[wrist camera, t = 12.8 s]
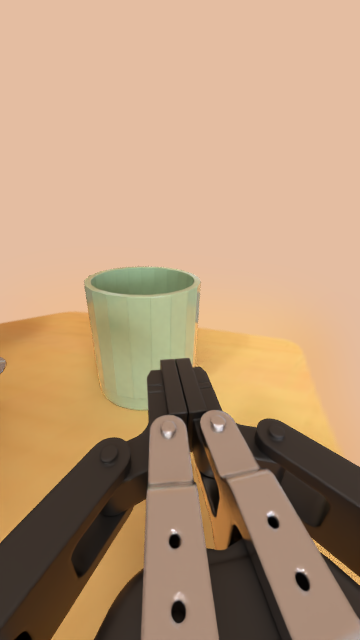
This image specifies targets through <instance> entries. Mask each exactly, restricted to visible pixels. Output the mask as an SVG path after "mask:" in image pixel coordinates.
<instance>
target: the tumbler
mask: <svg viewBox="0 0 360 640" xmlns="http://www.w3.org/2000/svg"><path fill="white" fill-rule="evenodd" d="M200 284H201V281H200V279H199V278H198V277H197V276H195V275H194V274H192V273H189V272H185V271H182V270H177V269H172V268H164V267H163V268H162V267H125V268H116V269H110V270H106V271H101V272H98V273H95V274H93V275H90V276H89V277H88V278H86V279H85V280H84V285H85V292H86V299H87V305H88V312H89V319H90V325H91V332H92V339H93V345H94V352H95V359H96V365H97V372H98V379H99V384H100V389H101V391H102V393H103V394H104V396H105V397H106V398H107V399H108V400H109V401H111V402H112V403H114V404H116V405H118V406H121V407H124V408H127V409H133V410H148V396H147V376H148V374H149V373H150V371H151V370H160V360H163V359H179V358H190V361H191V364H192V367H195V357H196V343H197V328H198V314H199V299H200Z"/></svg>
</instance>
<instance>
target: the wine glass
mask: <svg viewBox="0 0 360 640" xmlns="http://www.w3.org/2000/svg"><path fill="white" fill-rule="evenodd" d="M5 367H6V361H5V360H4V359H3V358H1V357H0V373H1V372H2V371H3V370H4V369H5Z"/></svg>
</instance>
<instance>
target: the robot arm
mask: <svg viewBox="0 0 360 640" xmlns="http://www.w3.org/2000/svg"><path fill="white" fill-rule="evenodd" d="M147 396H148V417H149V423H148V426H147V428H146V429H145V430H144V432H143V433H141V434H140V435H139V436H137V437H135V438H133V439H131V440H129V441H124V440H123V439H120V438H115V437H114V438H107V439H105V440H102V441H100V442H99V443H98V444H96V445H95V446H94V447H93V448H92V449H91V450H90V451H89V452H88V453H87V454H86V455H85V456H84V457H83V459H82V460H81V461H80V462H79V463H78V464H77V465H76V466H75V467H74V468H73V469H72V470H71V471H70V472H69V473H68V474H67V475H66V476H65V477H64V478H63V479H62V480H61V481H60V482H59V483H58V484H57V485H56V486H55V487H54V488H53V489H52V490H51V491H50V492H49V493H48V494H47V495H46V497H45V498H44V499H43V500H42V501H41V502H40V503H39V504H38V505H37V506H36V507H35V508H34V509H33V510H32V511H31V512H30V513H29V514H28V515H27V516H26V517H25V518H24V519H23V520H22V521H21V522H20V523H19V524H18V525H17V526H16V527H15V528H14V529H13V530H12V531H11V532H10V534H9V535H8V536H7V537H6V538H5V539H4V540H3V541H2V542H1V543H0V640H51V638H52V637H53V635H54V634H55V632H56V630H57V629H58V627H59V626H60V624H61V623H62V621H63V619H64V618H65V616H66V615H67V613H68V612H69V610H70V608H71V607H72V605H73V604H74V602H75V600H76V599H77V597H78V596H79V594H80V593H81V591H82V589H83V588H84V586H85V585H86V583H87V581H88V580H89V578H90V577H91V575H92V574H93V572H94V570H95V569H96V567H97V566H98V564H99V562H100V561H101V559H102V558H103V556H104V555H105V553H106V551H107V550H108V548H109V547H110V545H111V544H112V542H113V540H114V539H115V537H116V536H117V534H118V532H119V531H120V529H121V528H122V526H123V525H124V523H125V521H126V520H127V518H128V517H129V515H130V513H131V512H132V510H133V507H134V505H136V504H138V503H140V502H141V501H143V500H145V499H146V521H145V547H144V568H143V569H142V570H141V571H139V572H138V573H137V574H136V575H134V577H133V578H132V579H131V580H130V581H129V582H128V583H127V584H126V585H125V586H124V588H123V589H122V590H121V591H120V593H119V594H118V596H117V597H116V599H115V600H114V602H113V604H112V605H111V607H110V609H109V611H108V613H107V615H106V617H105V619H104V621H103V623H102V625H101V626H100V628H99V630H98V632H97V634H96V636H95V638H94V640H360V585H358V584H357V583H356V582H355V581H354V580H353V579H352V578H350V577H349V576H348V575H347V574H346V573H345V572H344V571H342V570H341V569H340V568H339V567H338V566H337V565H336V564H334V563H333V562H332V561H331V560H330V559H328V558H327V557H326V556H325V555H323V554H322V553H320V552H319V550H318V549H317V547H316V545H315V544H314V542H313V540H312V539H311V538H313V539H314V540H315V541H316V542H317V543H319V544H320V545H321V546H322V547H324V548H325V549H326V550H327V551H328V552H330V553H331V554H332V555H333V556H335V557H336V558H337V559H338V560H340V561H341V562H342V563H343V564H344V565H346V566H347V567H348V568H349V569H351V570H352V571H353V572H354V573H355V574H357V575H358V576H359V577H360V467H359V466H357V465H355V464H353V463H352V462H350V461H348V460H347V459H345V458H343V457H341V456H340V455H338V454H336V453H334V452H333V451H331V450H329V449H328V448H326V447H324V446H322V445H321V444H319V443H317V442H315V441H314V440H312V439H310V438H309V437H307V436H305V435H303V434H302V433H300V432H298V431H296V430H295V429H293V428H291V427H289V426H288V425H286V424H284V423H283V422H281V421H278V420H275V419H264V420H262V421H260V422H259V423H258V425H257V428H256V427H250V426H244V425H240V424H237V423H235V421H234V420H233V418H232V417H231V416H230V415H229V414H227V413H225V412H223V411H222V409H221V406H220V404H219V402H218V399H217V397H216V394H215V392H214V390H213V388H212V385H211V382H210V380H209V378H208V375H207V373H206V372H205V371H204V370H203V369H202V368H201V367H192V364H191V361H190V358H179V359H163V360H160V370H151V371H150V373H149V374H148V376H147ZM190 452H193V454H194V458H195V463H196V472H197V475H198V479H199V482H200V485H201V489H202V492H203V496H204V499H205V502H206V506H207V509H208V512H209V516H210V519H211V523H212V529H213V538H214V544H215V549H216V550H215V549H208V548H206V544H205V537H204V530H203V523H202V516H201V509H200V502H199V495H198V489H197V485H196V483H195V482H194V479H193V473H192V465H191V458H190Z"/></svg>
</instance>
